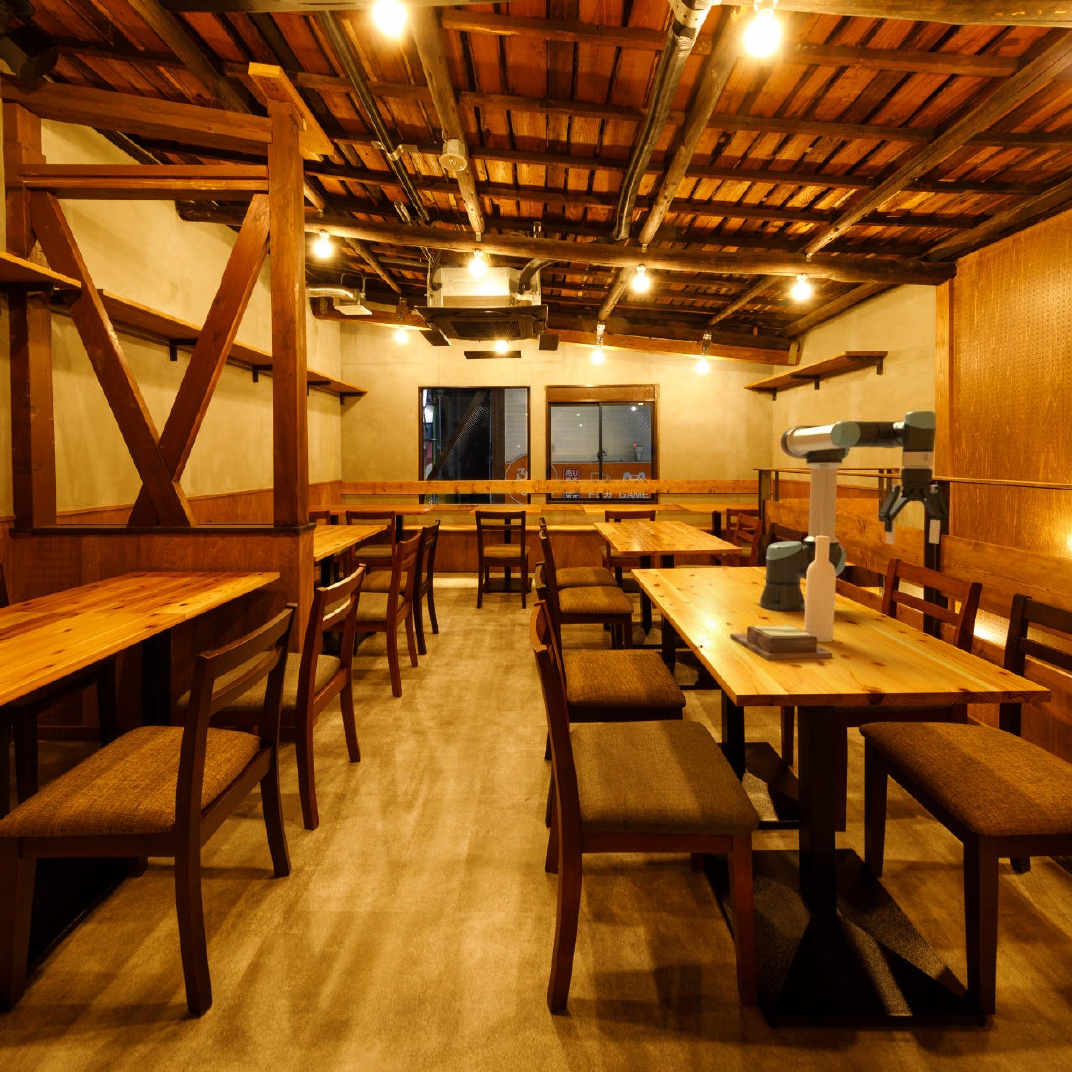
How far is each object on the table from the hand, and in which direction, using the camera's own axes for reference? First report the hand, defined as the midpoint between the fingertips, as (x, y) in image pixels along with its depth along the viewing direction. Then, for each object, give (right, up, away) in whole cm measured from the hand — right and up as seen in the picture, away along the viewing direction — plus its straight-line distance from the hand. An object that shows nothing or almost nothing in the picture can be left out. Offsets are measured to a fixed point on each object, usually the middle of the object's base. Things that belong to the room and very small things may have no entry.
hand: (912, 543), depth 178 cm
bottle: (-24, -28, +5) cm, 37 cm away
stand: (-39, -29, -4) cm, 49 cm away
